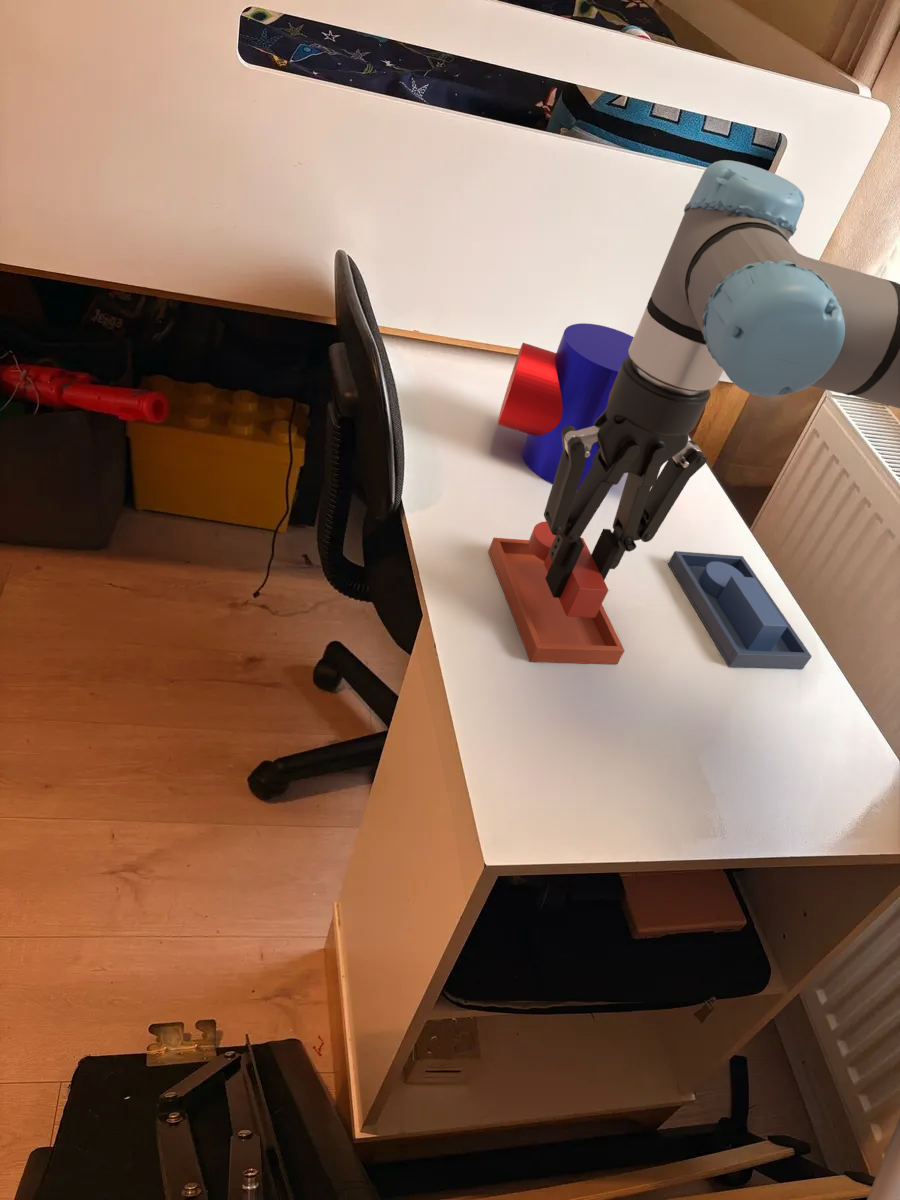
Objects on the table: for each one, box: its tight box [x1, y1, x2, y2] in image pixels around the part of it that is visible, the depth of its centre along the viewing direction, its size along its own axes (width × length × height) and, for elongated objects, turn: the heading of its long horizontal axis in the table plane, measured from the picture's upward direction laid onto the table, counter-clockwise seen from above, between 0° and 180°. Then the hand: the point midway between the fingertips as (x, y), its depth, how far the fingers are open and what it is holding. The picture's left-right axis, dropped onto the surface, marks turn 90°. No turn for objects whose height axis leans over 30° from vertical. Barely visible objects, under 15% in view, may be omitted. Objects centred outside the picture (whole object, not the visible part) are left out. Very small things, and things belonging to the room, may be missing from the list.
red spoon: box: [528, 520, 609, 618], centre depth 88 cm, size 12×5×4 cm, turn 12°
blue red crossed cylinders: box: [496, 322, 663, 490], centre depth 108 cm, size 20×12×16 cm, turn 81°
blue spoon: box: [699, 561, 787, 650], centre depth 97 cm, size 12×5×4 cm, turn 12°
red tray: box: [488, 537, 625, 665], centre depth 90 cm, size 16×9×2 cm, turn 12°
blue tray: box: [667, 550, 813, 670], centre depth 97 cm, size 16×9×2 cm, turn 12°
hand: (570, 588), depth 87 cm, fingers closed on red spoon, 3 cm apart
